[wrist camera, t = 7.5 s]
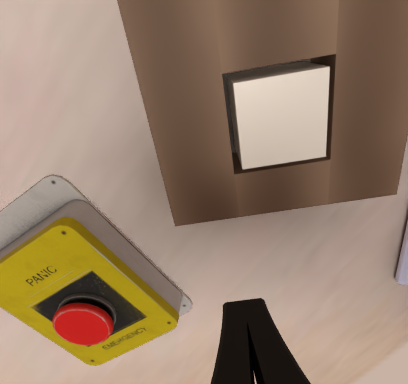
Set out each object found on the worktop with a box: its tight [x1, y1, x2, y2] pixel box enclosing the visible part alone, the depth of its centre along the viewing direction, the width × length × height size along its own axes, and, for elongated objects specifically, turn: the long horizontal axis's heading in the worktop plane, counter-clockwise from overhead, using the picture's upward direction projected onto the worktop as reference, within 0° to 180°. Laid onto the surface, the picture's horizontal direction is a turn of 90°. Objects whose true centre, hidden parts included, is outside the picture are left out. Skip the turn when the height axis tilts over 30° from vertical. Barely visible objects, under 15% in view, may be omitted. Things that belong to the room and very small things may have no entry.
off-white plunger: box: [227, 61, 330, 169], centre depth 14 cm, size 4×4×3 cm
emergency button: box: [0, 175, 192, 366], centre depth 20 cm, size 9×4×15 cm
